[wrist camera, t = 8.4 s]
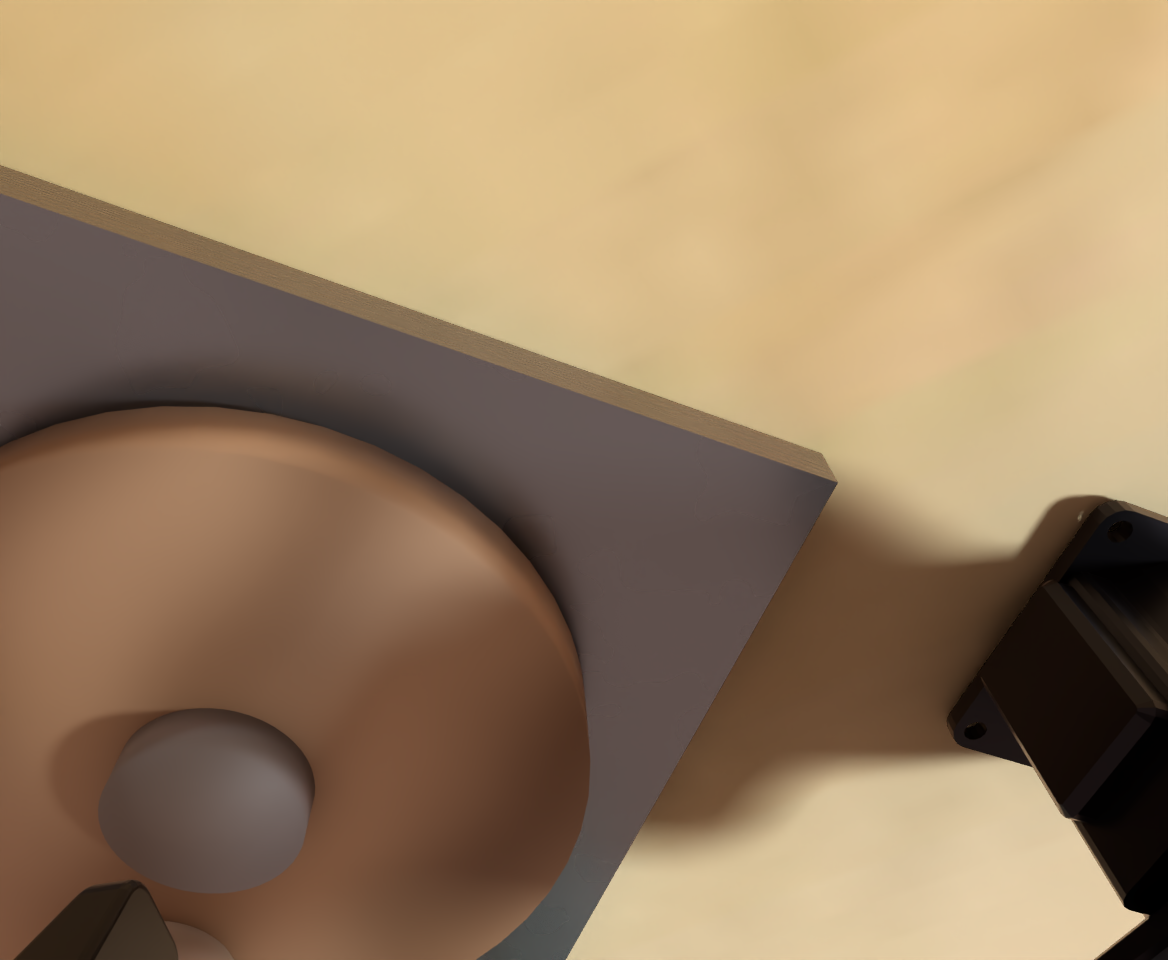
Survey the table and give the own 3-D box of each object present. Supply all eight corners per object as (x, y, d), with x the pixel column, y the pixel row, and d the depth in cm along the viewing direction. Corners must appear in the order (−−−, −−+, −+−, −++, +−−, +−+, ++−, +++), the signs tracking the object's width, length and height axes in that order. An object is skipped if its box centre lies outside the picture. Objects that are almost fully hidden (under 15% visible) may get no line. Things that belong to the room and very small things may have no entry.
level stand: (821, 453, 20) (903, 599, 16) (509, 1015, 28) (507, 1219, 24) (-179, 102, 16) (-434, 167, 12) (-225, 866, 24) (-393, 1077, 20)
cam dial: (695, 539, 19) (785, 865, 13) (465, 1004, 25) (444, 1392, 19) (-127, 289, 16) (-573, 543, 10) (-168, 883, 22) (-462, 1293, 16)
